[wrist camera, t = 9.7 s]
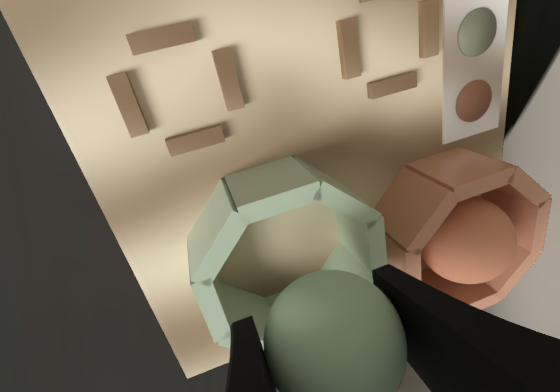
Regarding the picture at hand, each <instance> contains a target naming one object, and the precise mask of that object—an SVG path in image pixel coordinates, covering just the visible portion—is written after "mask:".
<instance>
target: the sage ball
mask: <svg viewBox="0 0 560 392" xmlns="http://www.w3.org/2000/svg"><path fill="white" fill-rule="evenodd" d="M263 343H264V355H265V359H266V363H267V367H268V370H269V374H270V376H271V378H272V380H273V382H274V384H275V386H276V388H277V389H278V391H279V392H397V390H398V388H399V386H400V384H401V381H402V379H403V376H404V373H405V368H406V361H407V342H406V336H405V330H404V327H403V325H402V322H401V319H400V316H399V315H398V313H397V311H396V309H395V307H394V306H393V304H392V303H391V301H390V300H389V299H388V297H387V296H386V295H385V294H384V293H383V292H382V291H381V290H380V289H379V288H378V287H376V286H375V285H374V284H372V283H371V282H370V281H368V280H366V279H364V278H363V277H360V276H358V275H356V274H353V273H350V272H346V271H341V270H320V271H315V272H312V273H309V274H306V275H304V276H302V277H300V278H298V279H296V280H295V281H294V282H292V283H291V284H289V285H288V286H287V287H286V288H285V289H284V290H283V291H282V292H281V293H280V295H279V296H278V297H277V299H276V300H275V302H274V304H273V305H272V307H271V309H270V311H269V314H268V317H267V320H266V324H265V329H264V338H263Z"/></svg>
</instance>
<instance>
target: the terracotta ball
mask: <svg viewBox="0 0 560 392" xmlns="http://www.w3.org/2000/svg"><path fill="white" fill-rule="evenodd" d="M516 249H517V235H516V231H515V228H514V225H513V223H512V222H511V220H510V218H509V217H508V216H507V214H506V213H505V212H504V211H503V210H502V209H501V208H499V207H498V206H497V205H495V204H494V203H492V202H490V201H488V200H486V199H483V198H480V197H476V196H474V197H471V198H468V199H466V200H463V201H460V202H458V203H457V204H456V205H455V207H454V208H453V209H452V211H451V212H450V213H449V215H448V216H447V217H446V219H445V220H444V221H443V223H442V224H441V225H440V227H439V228H438V229H437V231H436V232H435V233H434V235H433V236H432V237H431V239H430V240H429V241H428V243H427V244H426V245H425V247H424V248H423V249H422V251H421V256H422V258H423V260H424V261H425V262H426V264H427V265H428V266H429V267H430V268H431V269H432V270H433V271H434V272H435V273H437V274H438V275H440V276H441V277H443V278H445V279H447V280H450V281H453V282H456V283H462V284H478V283H484V282H487V281H490V280H492V279H494V278H496V277H498V276H499V275H501V274H502V273H503V272H504V271H505V270H506V269H507V268H508V267H509V266H510V264H511V263H512V261H513V259H514V257H515V254H516Z"/></svg>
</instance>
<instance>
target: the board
mask: <svg viewBox="0 0 560 392" xmlns="http://www.w3.org/2000/svg"><path fill="white" fill-rule="evenodd" d="M516 2H517V0H0V10H1V12H2V14H3V16H4V18H5V20H6V22H7V24H8V26H9V28H10V30H11V32H12V34H13V36H14V38H15V40H16V42H17V43H18V45H19V47H20V49H21V51H22V53H23V55H24V57H25V59H26V61H27V63H28V65H29V67H30V69H31V71H32V73H33V75H34V77H35V79H36V81H37V83H38V85H39V87H40V89H41V91H42V93H43V95H44V97H45V99H46V101H47V103H48V105H49V107H50V109H51V111H52V113H53V114H54V116H55V118H56V120H57V122H58V124H59V126H60V128H61V130H62V132H63V134H64V136H65V138H66V140H67V142H68V144H69V146H70V148H71V150H72V152H73V154H74V156H75V158H76V160H77V162H78V164H79V166H80V168H81V170H82V172H83V174H84V176H85V178H86V180H87V182H88V184H89V185H90V187H91V189H92V191H93V193H94V195H95V197H96V199H97V201H98V203H99V205H100V207H101V209H102V211H103V213H104V215H105V217H106V219H107V221H108V223H109V225H110V227H111V229H112V231H113V233H114V235H115V237H116V239H117V241H118V243H119V245H120V247H121V249H122V251H123V253H124V255H125V256H126V258H127V260H128V262H129V264H130V266H131V268H132V270H133V272H134V274H135V276H136V278H137V280H138V282H139V284H140V286H141V288H142V290H143V292H144V294H145V296H146V298H147V300H148V302H149V304H150V306H151V308H152V310H153V312H154V314H155V316H156V318H157V320H158V322H159V324H160V326H161V327H162V329H163V331H164V333H165V335H166V337H167V339H168V341H169V343H170V345H171V347H172V349H173V351H174V353H175V355H176V357H177V359H178V361H179V363H180V365H181V367H182V369H183V371H184V373H185V375H186V377H187V379H188V378H190V377H193V376H195V375H198V374H200V373H203V372H205V371H208V370H210V369H213V368H215V367H218V366H220V365H223V364H226V363H228V362H229V359H230V348H227V347H222V346H218V345H217V342H216V343H214V341H213V338H212V336H211V333H210V331H209V329H208V326H207V324H206V322H205V319H204V317H203V314H202V312H201V310H200V307H199V305H198V303H197V300H196V298H195V295H194V293H193V291H192V288H191V286H190V276H189V263H188V250H187V236H188V234H189V232H190V230H191V229H192V227H193V225H194V223H195V222H196V220H197V218H198V217H199V215H200V213H201V211H202V210H203V208H204V206H205V204H206V203H207V201H208V199H209V198H210V196H211V194H212V192H213V191H214V189H215V187H216V185H217V184H218V182H219V180H220V179H223V180H225V177H224V176H225V175H228V174H232V173H235V172H238V171H242V170H245V169H248V168H251V167H255V166H258V165H261V164H265V163H268V162H271V161H275V160H278V159H281V158H285V157H288V156H292V157H293V158H294V157H295V156H296V157H298V158H299V159H301V160H303V161H305V162H306V163H308V164H310V165H312V166H313V167H315V168H317V169H319V170H320V171H322V172H324V173H325V174H327V175H329V176H331V177H332V178H334V179H336V180H338V181H339V182H341V183H343V184H345V185H346V186H347V187H348V188H350V189H351V190H352V191H354V192H355V193H356V194H357V195H359V196H360V197H361V198H362V199H364V200H365V201H366V202H367V203H369V204H370V205H371V206H373V207H375V206H376V204H377V203H378V201H379V200H380V199H381V197H382V196H383V194H384V193H385V191H386V190H387V189H388V187H389V186H390V184H391V183H392V181H393V180H394V178H395V177H396V176H397V174H398V173H399V171H400V170H401V168H402V167H405V168H406V164H408V163H411V162H414V161H417V160H420V159H423V158H426V157H429V156H432V155H435V154H438V153H441V152H444V151H447V150H450V149H453V148H457V147H460V148H461V147H462V148H465V149H468V150H471V151H474V152H477V153H480V154H483V155H486V156H488V157H491V158H494V159H497V160H500V161H502V153H503V142H504V132H505V121H506V110H507V99H508V88H509V77H510V67H511V56H512V45H513V34H514V23H515V12H516ZM481 195H482V194H480V195H477V196H476V197H480V198H481ZM339 241H340V239H339V233H338V226H337V220H336V213H335V211H334V210H332V209H331V208H329V207H327V206H325V205H323V204H321V203H319V202H314V203H311V204H308V205H305V206H302V207H299V208H296V209H293V210H290V211H287V212H284V213H281V214H278V215H275V216H272V217H269V218H266V219H263V220H260V221H257V222H253V223H250V224H248V225H247V227H246V229H245V230H244V232H243V234H242V235H241V237H240V238H239V240H238V242H237V243H236V245H235V247H234V248H233V250H232V251H231V253H230V255H229V256H228V258H227V260H226V261H225V263H224V264H223V266H222V268H221V269H220V271H219V273H218V276H219V278H220V281H221V283H223V284H226V285H229V286H232V287H235V288H238V289H241V290H244V291H247V292H250V293H253V294H256V295H259V296H262V297H265V298H266V297H269V296H271V295H274V294H277V293H280V292H282V291H283V290H284V289H285V288H286V287H287V286H288V285H289V284H291V283H292V282H294V281H295V280H296V279H298V278H300V277H302V276H304V275H306V274H309V273H312V272H315V271H319V270H320V269H321V267H322V266H323V264H324V263H325V261H326V260H327V258H328V257H329V255H330V254H331V253H332V251H333V250H334V248H335V247H336V245H337V244H338V242H339ZM428 267H429V266H428V265H427V264H426V262H425V261H424V260H423V258H422V256H421V270H423V269H426V268H428Z"/></svg>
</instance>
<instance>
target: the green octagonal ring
mask: <svg viewBox="0 0 560 392" xmlns="http://www.w3.org/2000/svg"><path fill="white" fill-rule="evenodd" d="M224 177H225V180H223V179H220V180H219V182H218V184H217V185H216V187H215V189H214V191H213V192H212V194H211V196H210V198H209V199H208V201H207V203H206V204H205V206H204V208H203V210H202V211H201V213H200V215H199V217H198V218H197V220H196V222H195V223H194V225H193V227H192V229H191V230H190V232H189V234H188V236H187V250H188V263H189V276H190V286H191V288H192V291H193V293H194V295H195V298H196V300H197V303H198V305H199V307H200V310H201V312H202V314H203V317H204V319H205V322H206V324H207V326H208V329H209V331H210V333H211V336H212V338H213V341H214V343H216V342H217V345H218V346H222V347H227V348H230V343H231V332H230V326H231V325H232V323H233V322H235V321H238V320H241V319H243V318H246V317H249V316H251V315H252V317H253V320H254V323H255V326H256V329H257V332H258V335H259V338H260V341H261V344H262V347H263V350H264V343H263V338H264V329H265V324H266V320H267V317H268V314H269V311H270V309H271V307H272V305H273V304H274V302H275V300H276V299H277V297H278V296H279V295H280V293H281V292H280V293H277V294H274V295H271V296H269V297H266V298H265V297H262V296H259V295H256V294H253V293H250V292H247V291H244V290H241V289H238V288H235V287H232V286H229V285H226V284H223V283H221V281H220V278H219V276H218V273H219V271H220V269H221V268H222V266H223V264H224V263H225V261H226V260H227V258H228V256H229V255H230V253H231V251H232V250H233V248H234V247H235V245H236V243H237V242H238V240H239V238H240V237H241V235H242V234H243V232H244V230H245V229H246V227H247V225H248V224H250V223H253V222H257V221H260V220H263V219H266V218H269V217H272V216H275V215H278V214H281V213H284V212H287V211H290V210H293V209H296V208H299V207H302V206H305V205H308V204H311V203H314V202H319V203H321V204H323V205H325V206H327V207H329V208H331V209H332V210H334V211H335V213H336V220H337V226H338V233H339V239H340V241H339V242H338V244H337V245H336V247H335V248H334V250H333V251H332V253H331V254H330V255H329V257H328V258H327V260H326V261H325V263H324V264H323V266H322V267H321V269H320V270H341V271H346V272H350V273H353V274H356V275H358V276H360V277H363V278H364V279H366V280H368V281H370V282H371V283H372V284H373V277H372V270H373V269H376V268H379V267H381V266H384V265H387V264H388V263H387V251H386V239H385V226H384V217H383V216H382V214H381V213H380V212H379V211H378V210H376V209H375V208H374V207H373V206H371V205H370V204H369V203H367V202H366V201H365V200H364V199H362V198H361V197H360V196H359V195H357V194H356V193H355V192H354V191H352V190H351V189H350V188H348V187H347V186H346V185H345V184H343V183H341V182H339V181H338V180H336V179H334V178H332V177H331V176H329V175H327V174H325V173H324V172H322V171H320V170H319V169H317V168H315V167H313V166H312V165H310V164H308V163H306V162H305V161H303V160H301V159H299V158H298V157H296V156H295V157H294V158H293V157H292V156H288V157H285V158H281V159H278V160H275V161H271V162H268V163H265V164H261V165H258V166H255V167H251V168H248V169H245V170H242V171H238V172H235V173H232V174H228V175H225V176H224ZM320 270H319V271H320Z"/></svg>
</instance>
